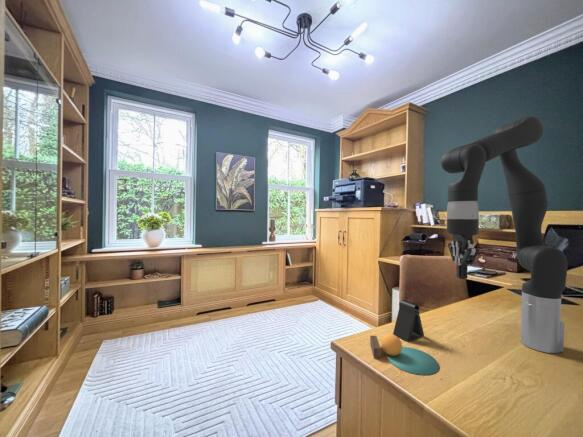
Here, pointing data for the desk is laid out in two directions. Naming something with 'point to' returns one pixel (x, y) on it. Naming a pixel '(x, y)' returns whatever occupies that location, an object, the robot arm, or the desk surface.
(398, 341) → the ball
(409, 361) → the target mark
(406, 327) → the phone stand
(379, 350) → the stop bar
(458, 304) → the desk surface
